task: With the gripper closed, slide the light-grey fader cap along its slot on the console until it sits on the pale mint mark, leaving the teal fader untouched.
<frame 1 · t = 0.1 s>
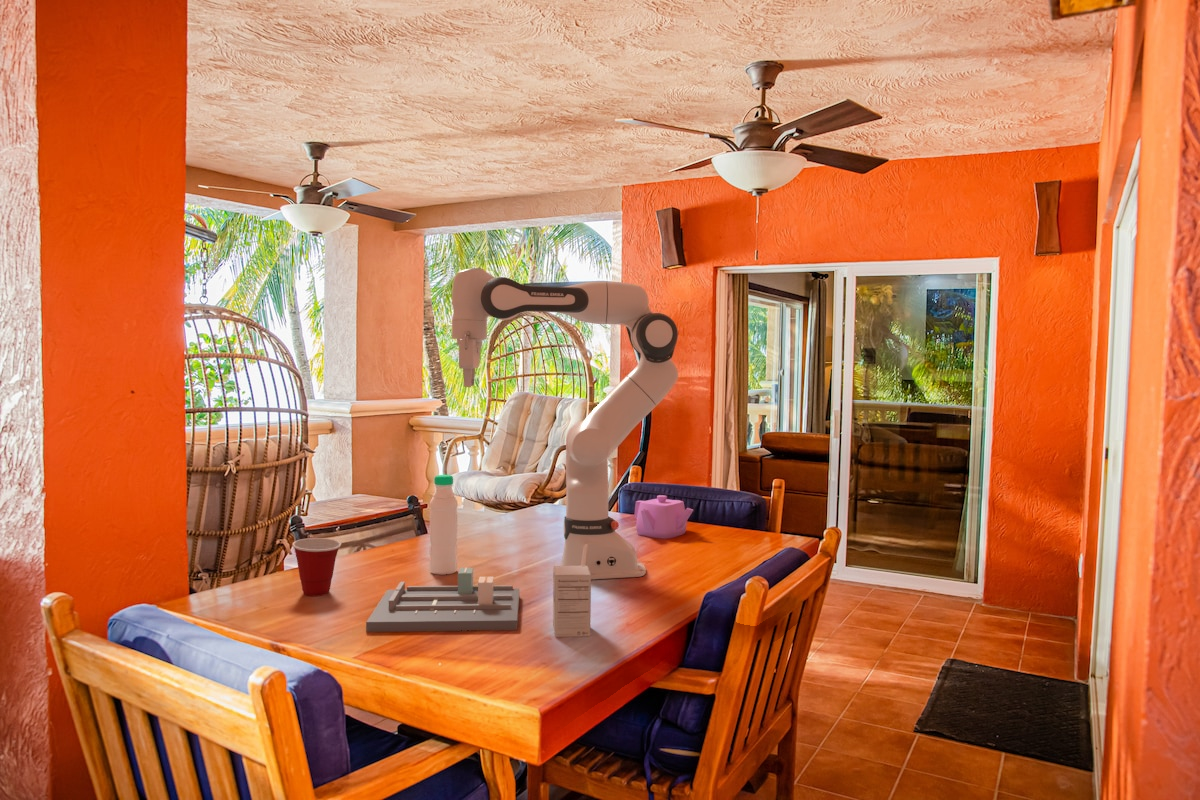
hand: (469, 386, 214), 48 cm above the table, tool pointing down, fingers open, 8 cm apart
teakettle: (662, 534, 268), on the table
plastic cup: (317, 593, 195), on the table
fader a: (485, 590, 181), point 5 cm above the table, slide at 0.0 cm
console: (448, 613, 181), on the table
water bottle: (443, 572, 216), on the table
supplement box: (571, 632, 170), on the table
fader b: (465, 581, 189), point 5 cm above the table, slide at 5.0 cm
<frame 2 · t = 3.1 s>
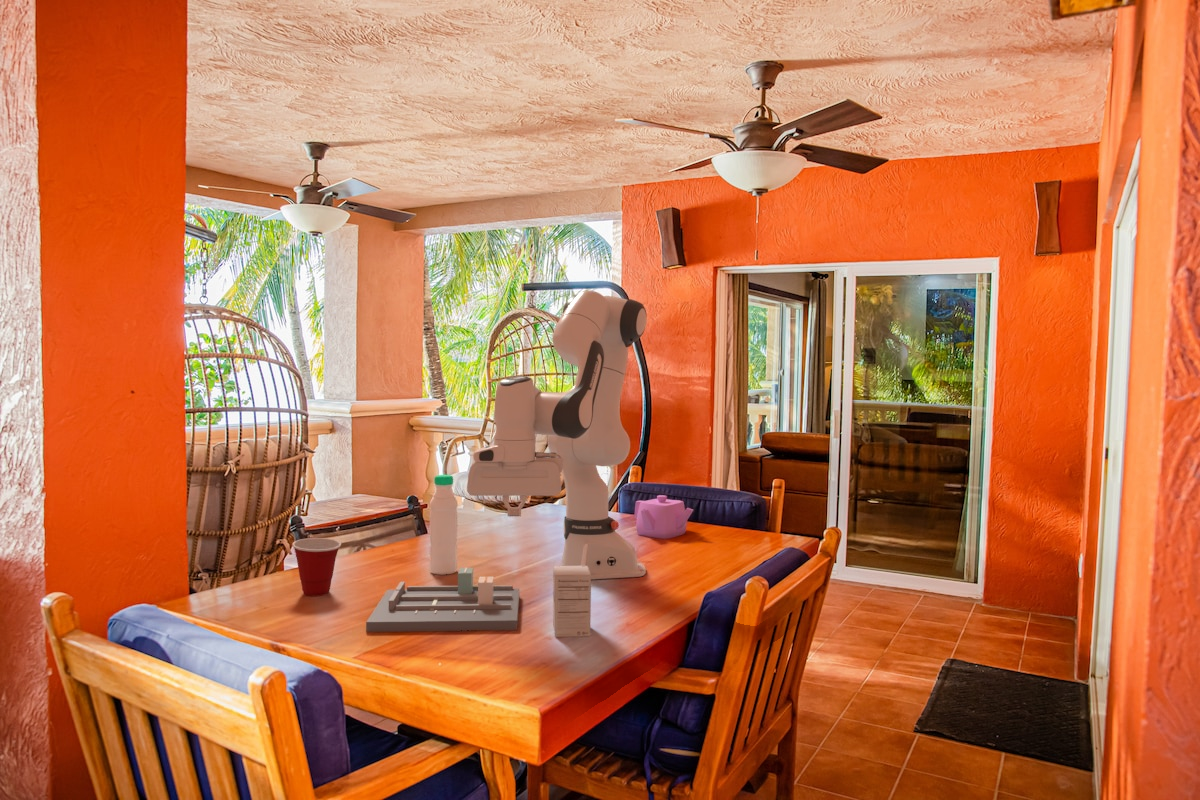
hand: (514, 516, 181), 21 cm above the table, tool pointing down, fingers closed
nothing on the table moved.
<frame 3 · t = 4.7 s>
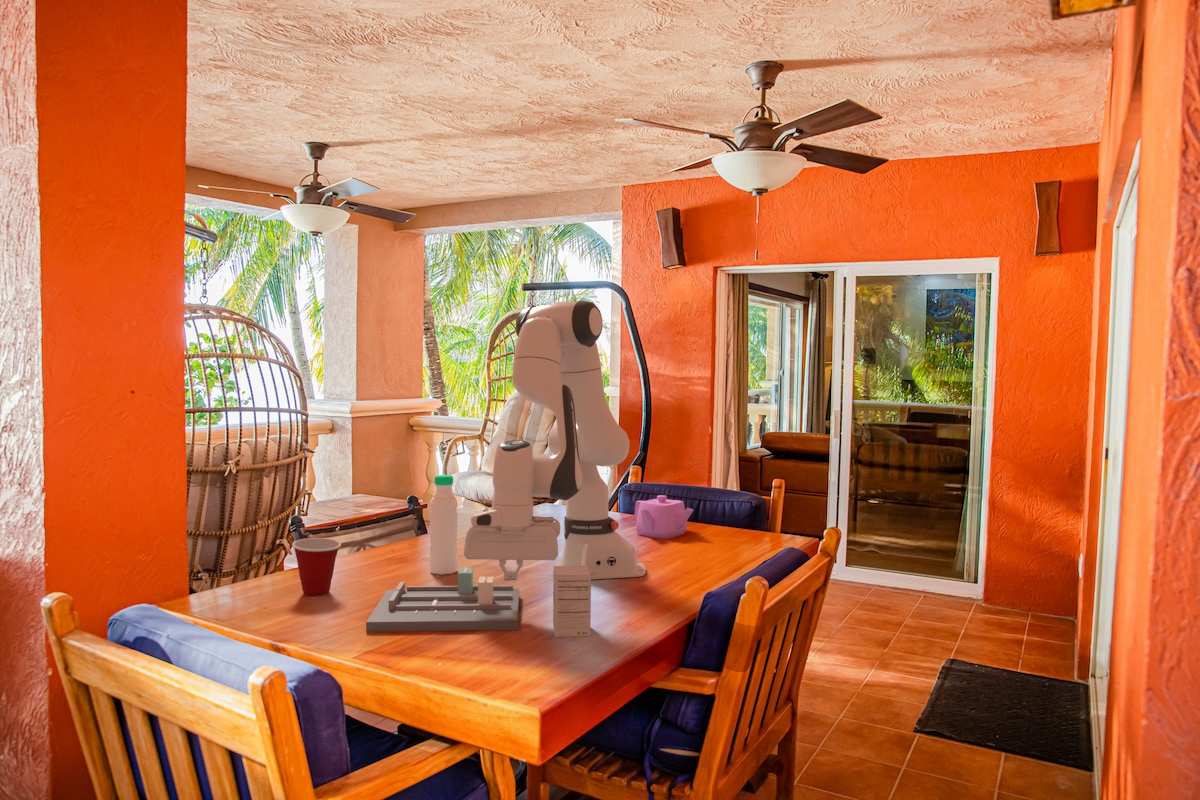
hand: (510, 579, 181), 7 cm above the table, tool pointing down, fingers closed
nothing on the table moved.
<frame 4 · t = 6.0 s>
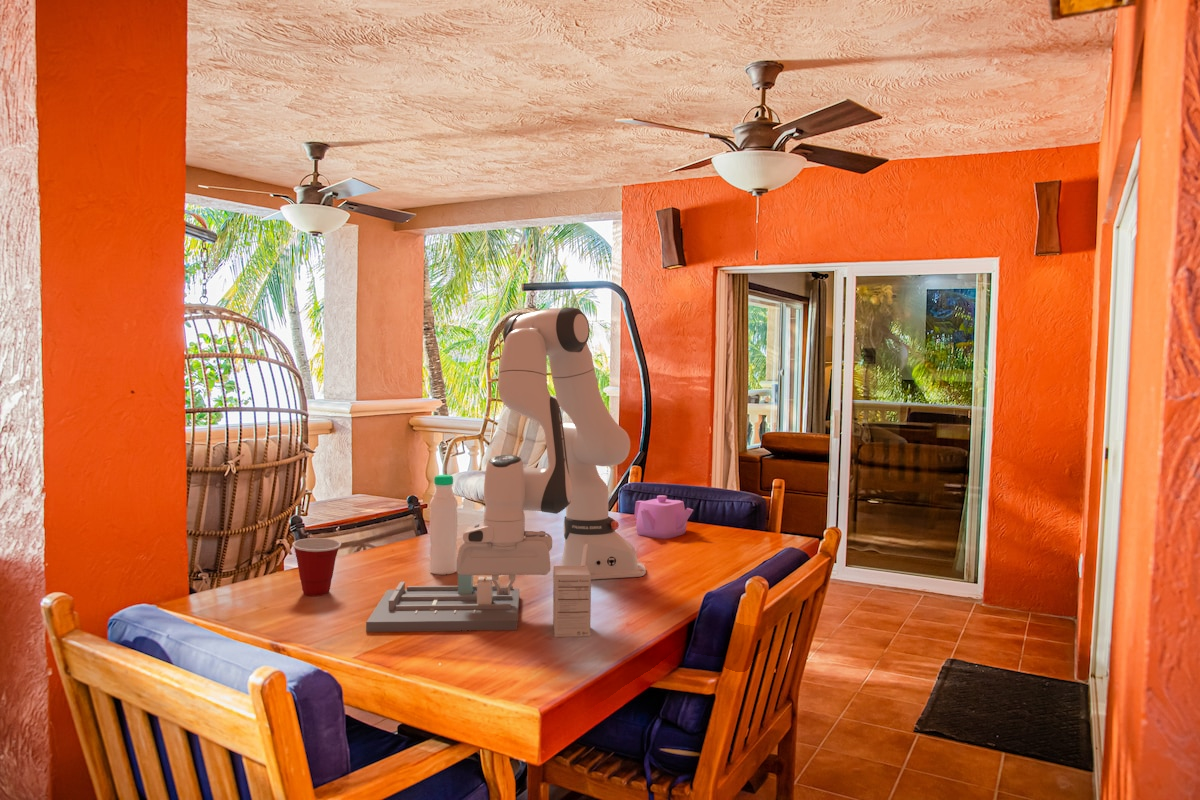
hand: (503, 594, 181), 4 cm above the table, tool pointing down, fingers closed
fader a: (484, 590, 181), point 5 cm above the table, slide at 0.2 cm, touching gripper
everything else where it was.
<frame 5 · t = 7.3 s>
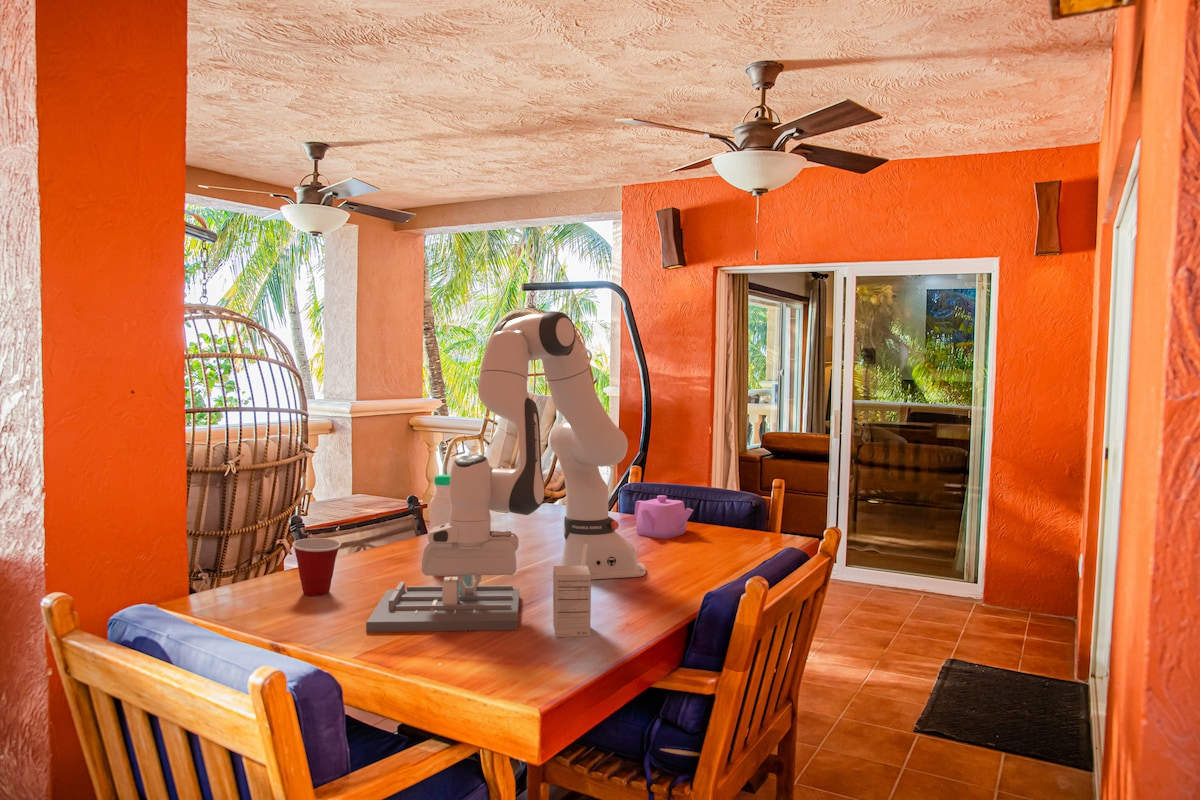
hand: (469, 595, 181), 4 cm above the table, tool pointing down, fingers closed
fader a: (450, 590, 180), point 5 cm above the table, slide at 7.5 cm, touching gripper
everything else where it was.
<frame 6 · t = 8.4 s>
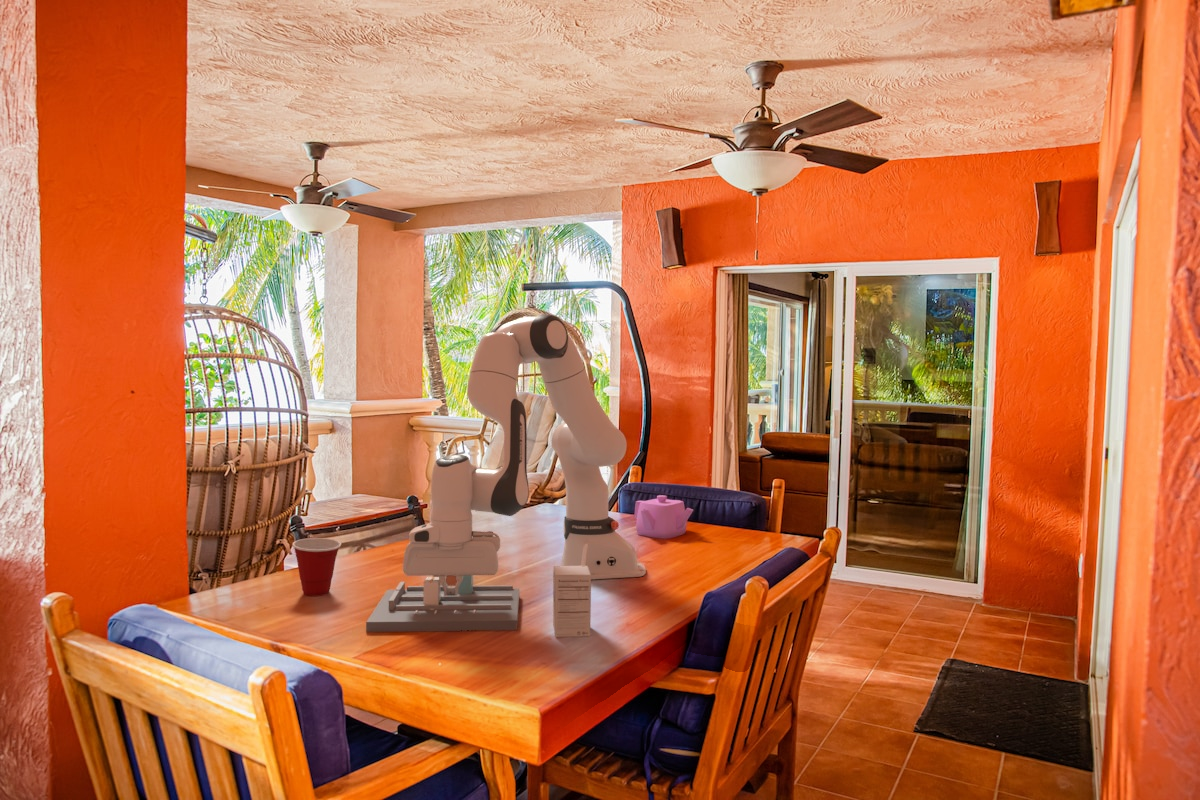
hand: (451, 595, 180), 4 cm above the table, tool pointing down, fingers closed
fader a: (432, 591, 180), point 5 cm above the table, slide at 11.5 cm, touching gripper
everything else where it was.
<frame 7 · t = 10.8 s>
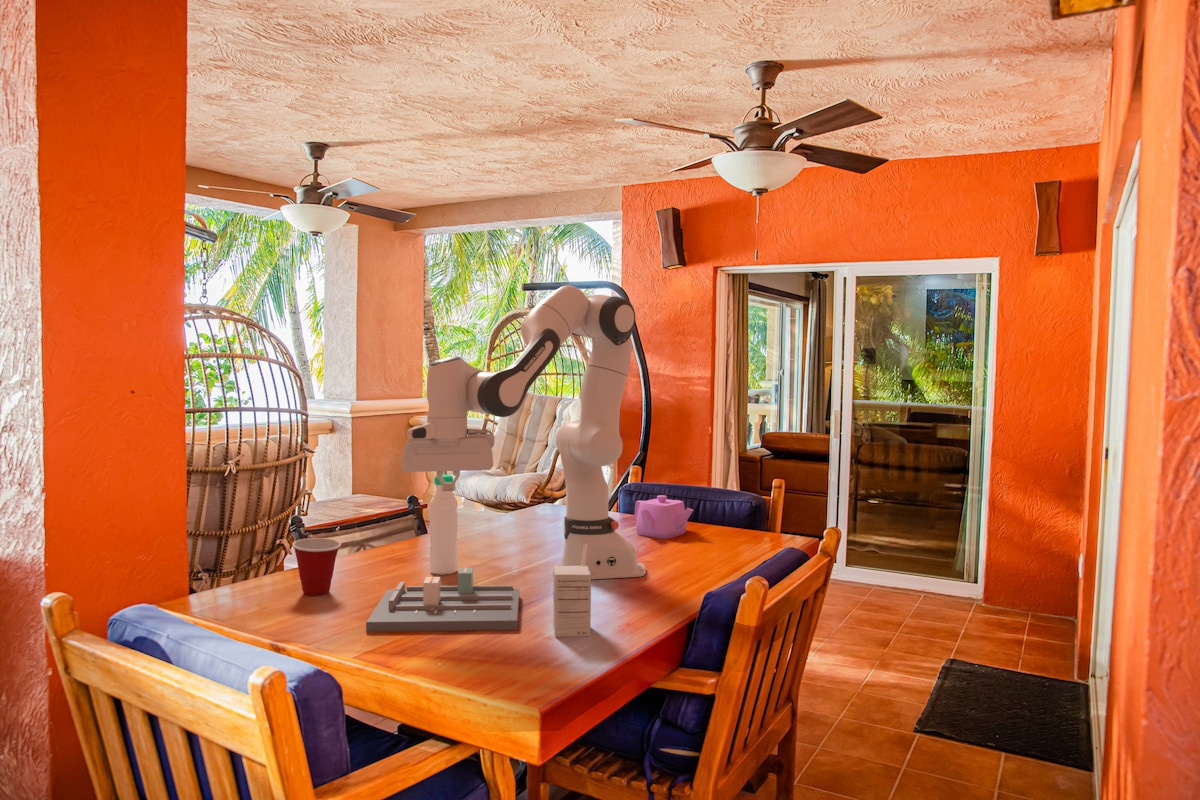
hand: (448, 490, 188), 25 cm above the table, tool pointing down, fingers closed
fader a: (431, 591, 180), point 5 cm above the table, slide at 11.5 cm
everything else where it was.
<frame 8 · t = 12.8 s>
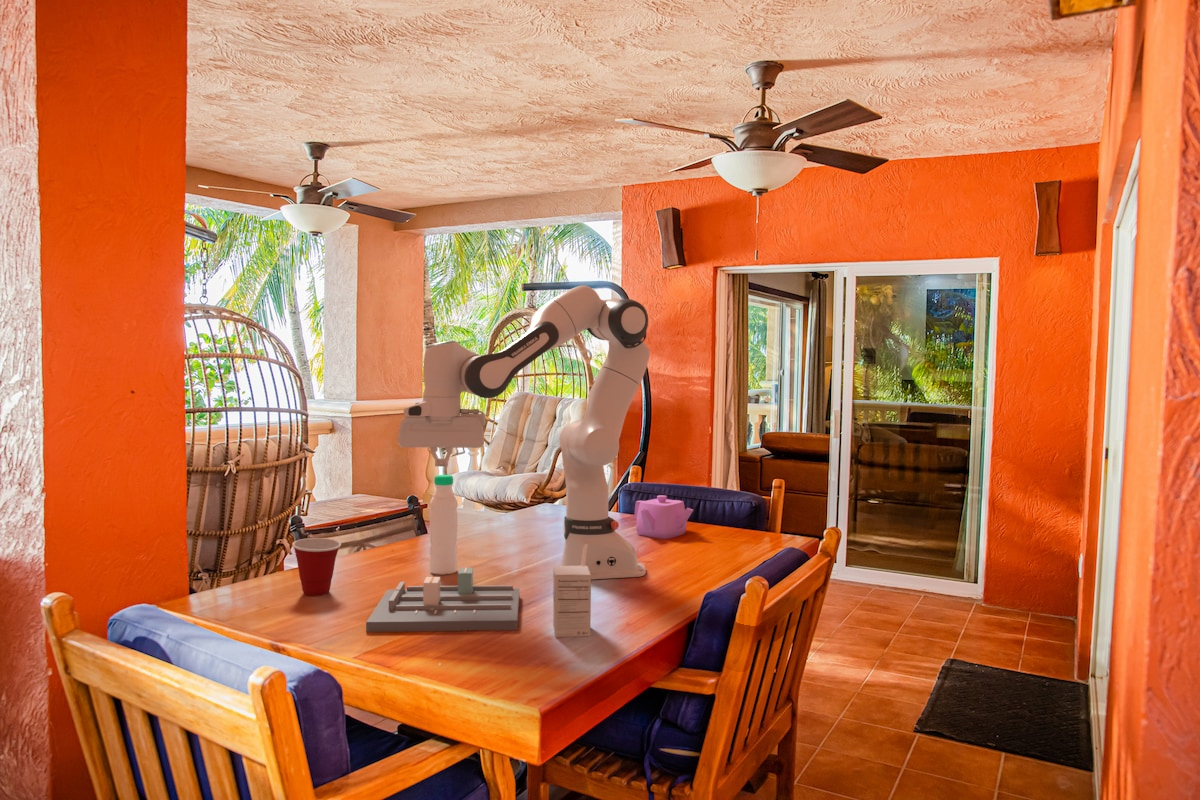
hand: (441, 466, 201), 29 cm above the table, tool pointing down, fingers closed
nothing on the table moved.
at the end: fader a slide at 11.5 cm; fader b slide at 5.0 cm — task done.
